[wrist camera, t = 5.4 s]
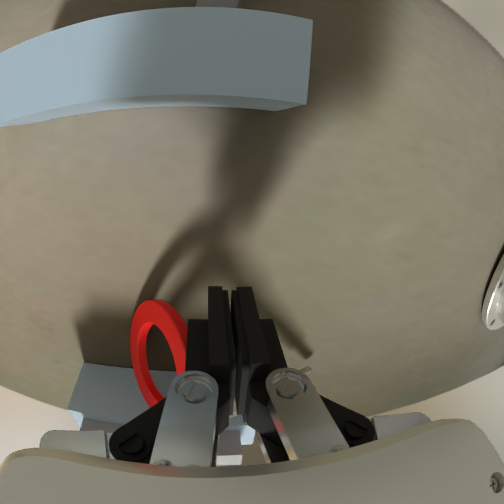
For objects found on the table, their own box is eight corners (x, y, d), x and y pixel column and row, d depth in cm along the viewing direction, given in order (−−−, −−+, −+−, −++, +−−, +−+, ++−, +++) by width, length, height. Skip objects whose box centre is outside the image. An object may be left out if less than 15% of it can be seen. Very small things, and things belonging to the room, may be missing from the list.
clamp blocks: (286, -14, 8) (333, -81, 3) (244, 405, 20) (254, 472, 14) (54, 5, 6) (-10, -29, 1) (100, 397, 18) (86, 459, 12)
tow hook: (139, 272, 13) (214, 396, 9) (271, 274, 21) (343, 342, 16) (118, 355, 15) (170, 456, 11) (234, 337, 23) (289, 403, 18)
